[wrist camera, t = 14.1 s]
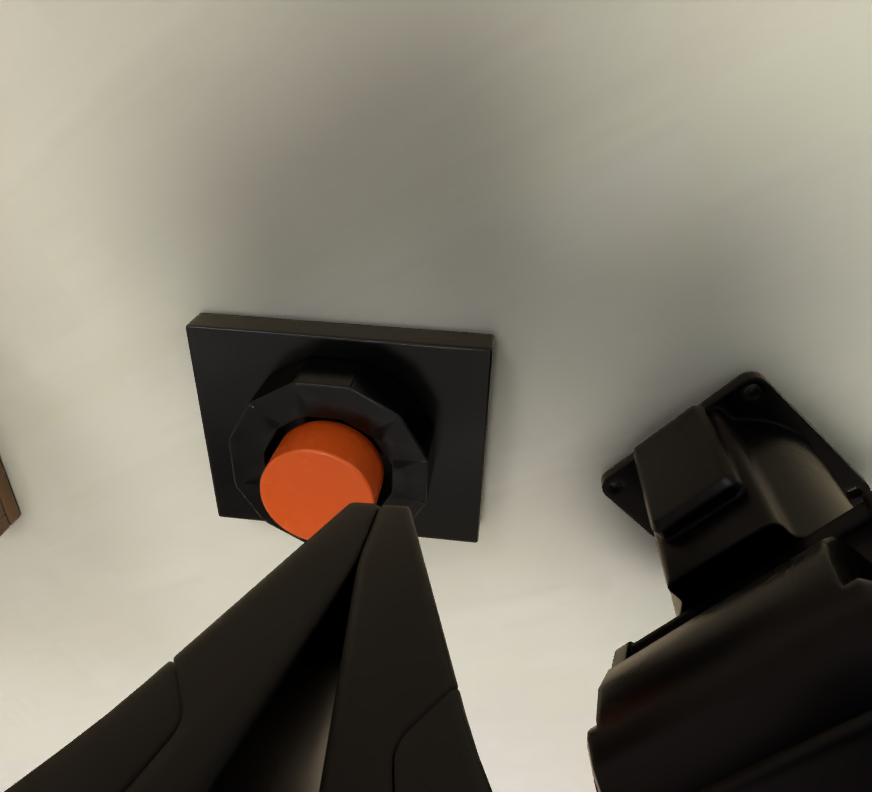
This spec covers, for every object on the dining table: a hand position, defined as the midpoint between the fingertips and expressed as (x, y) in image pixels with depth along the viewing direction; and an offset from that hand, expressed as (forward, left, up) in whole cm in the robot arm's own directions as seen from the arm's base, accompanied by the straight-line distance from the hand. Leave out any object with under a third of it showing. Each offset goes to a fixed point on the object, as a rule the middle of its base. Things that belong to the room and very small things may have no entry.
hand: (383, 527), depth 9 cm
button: (-1, +7, -10) cm, 13 cm away
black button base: (-1, +7, -13) cm, 15 cm away
